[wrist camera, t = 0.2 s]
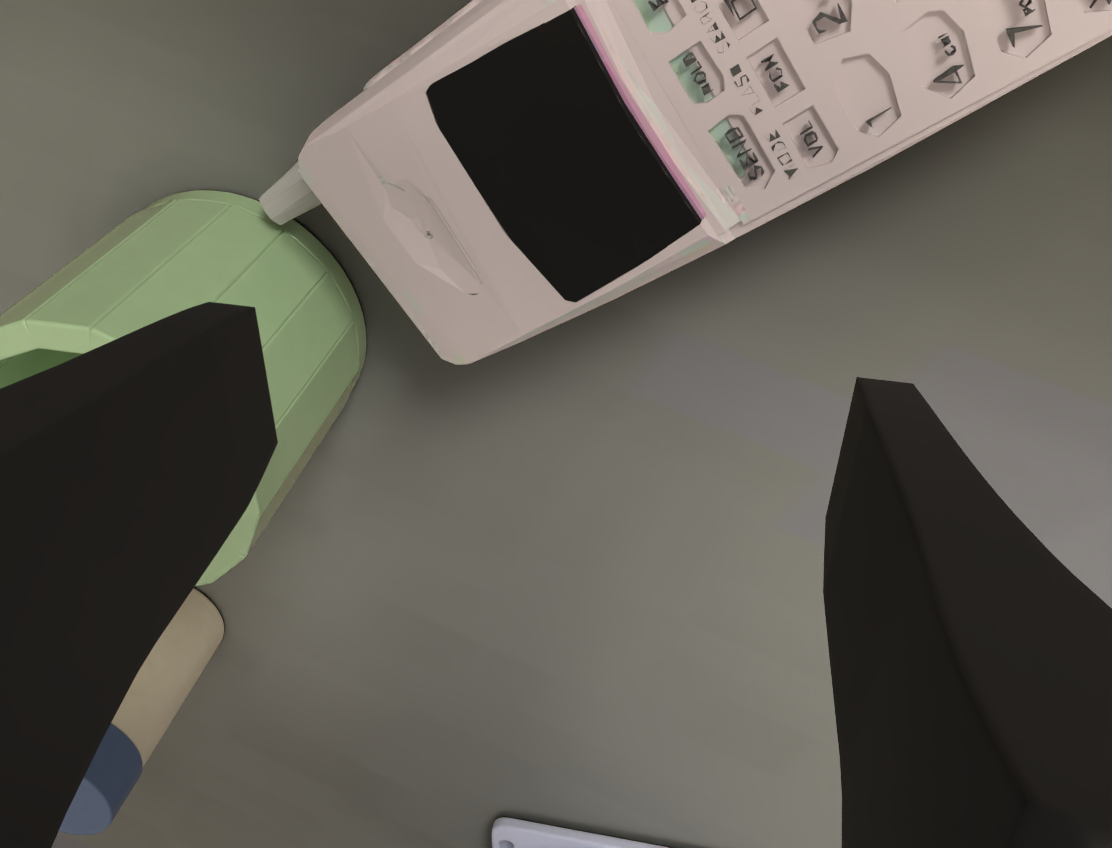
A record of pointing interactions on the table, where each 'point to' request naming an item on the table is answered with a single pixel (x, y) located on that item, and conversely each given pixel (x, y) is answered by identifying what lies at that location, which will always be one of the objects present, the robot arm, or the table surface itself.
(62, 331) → the pen cup
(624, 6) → the mobile phone
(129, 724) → the lidded container
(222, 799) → the table surface
